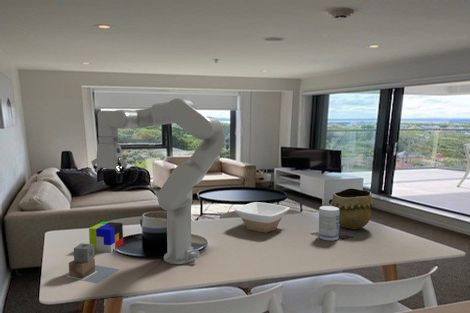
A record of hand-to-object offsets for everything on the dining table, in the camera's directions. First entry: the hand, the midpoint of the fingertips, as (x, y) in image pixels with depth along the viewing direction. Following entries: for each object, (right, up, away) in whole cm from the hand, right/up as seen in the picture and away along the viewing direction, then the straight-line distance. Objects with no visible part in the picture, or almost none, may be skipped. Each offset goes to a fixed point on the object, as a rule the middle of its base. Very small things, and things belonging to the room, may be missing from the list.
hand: (109, 181), depth 143 cm
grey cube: (-2, -27, -19) cm, 33 cm away
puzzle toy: (-4, -30, +9) cm, 31 cm away
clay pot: (+113, -27, +38) cm, 122 cm away
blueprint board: (0, -32, -18) cm, 37 cm away
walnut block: (-3, -32, -19) cm, 37 cm away
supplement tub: (+97, -29, +23) cm, 104 cm away
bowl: (+66, -27, +38) cm, 81 cm away
